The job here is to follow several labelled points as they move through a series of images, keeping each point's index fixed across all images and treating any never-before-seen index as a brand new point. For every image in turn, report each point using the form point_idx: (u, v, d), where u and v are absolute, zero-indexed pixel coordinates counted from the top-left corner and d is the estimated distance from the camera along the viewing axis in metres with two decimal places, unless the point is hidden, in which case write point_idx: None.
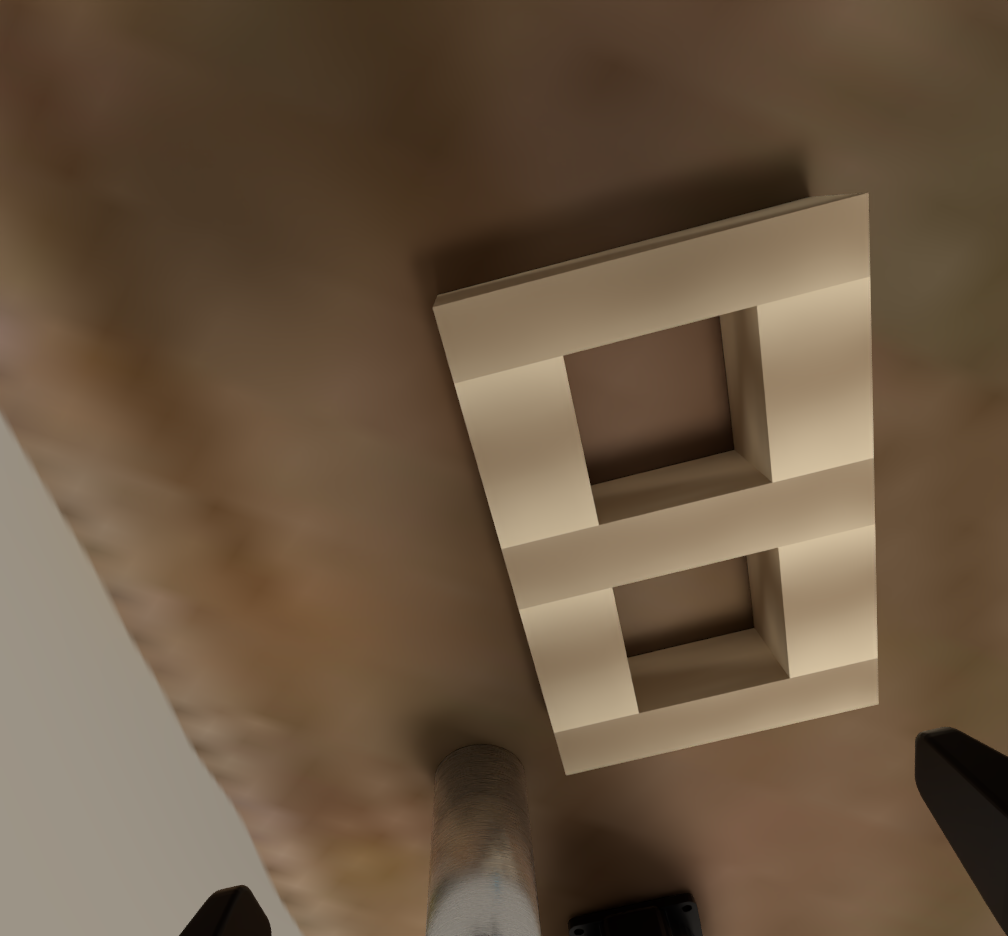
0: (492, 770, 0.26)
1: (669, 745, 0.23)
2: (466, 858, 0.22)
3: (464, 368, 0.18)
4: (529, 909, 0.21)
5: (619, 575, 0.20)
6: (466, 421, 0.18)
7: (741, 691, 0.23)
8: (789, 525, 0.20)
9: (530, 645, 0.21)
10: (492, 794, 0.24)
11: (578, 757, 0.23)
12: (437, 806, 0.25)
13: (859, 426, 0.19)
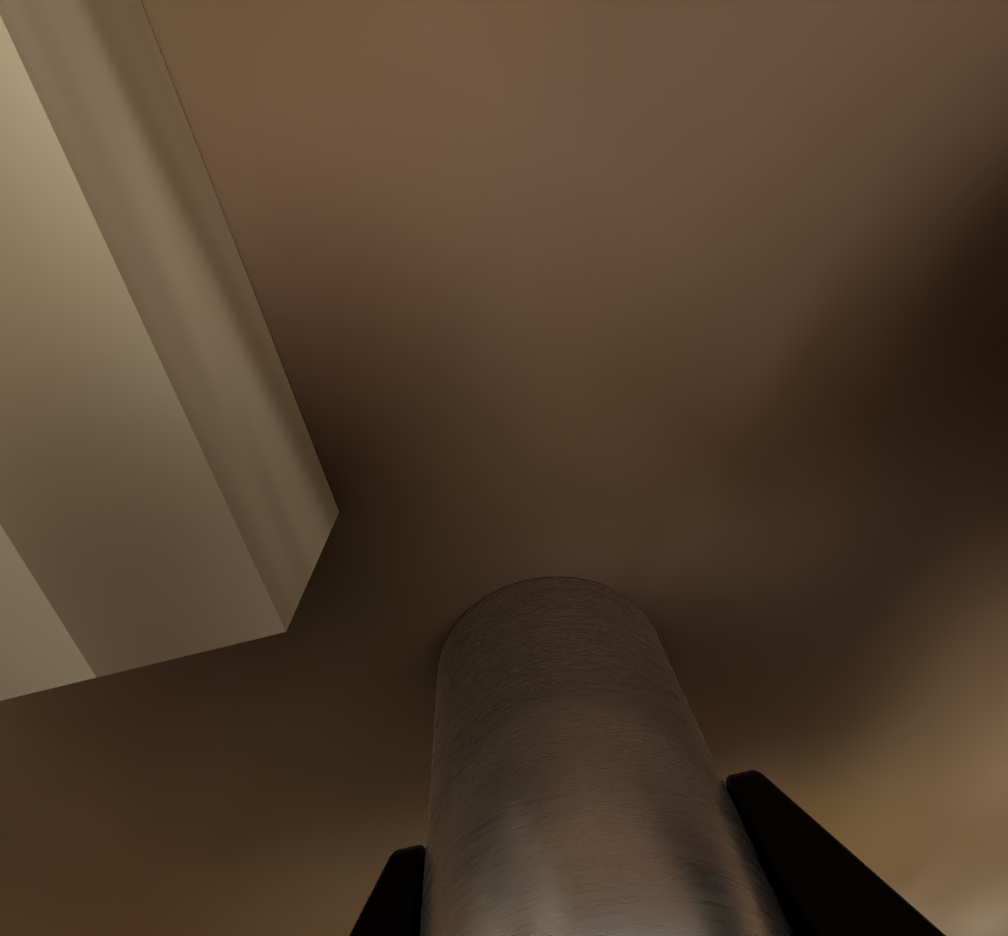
0: (437, 710, 0.09)
1: (74, 261, 0.05)
2: None
3: None
4: None
5: None
6: None
7: None
8: None
9: None
10: (431, 775, 0.08)
11: (195, 601, 0.07)
12: None
13: None
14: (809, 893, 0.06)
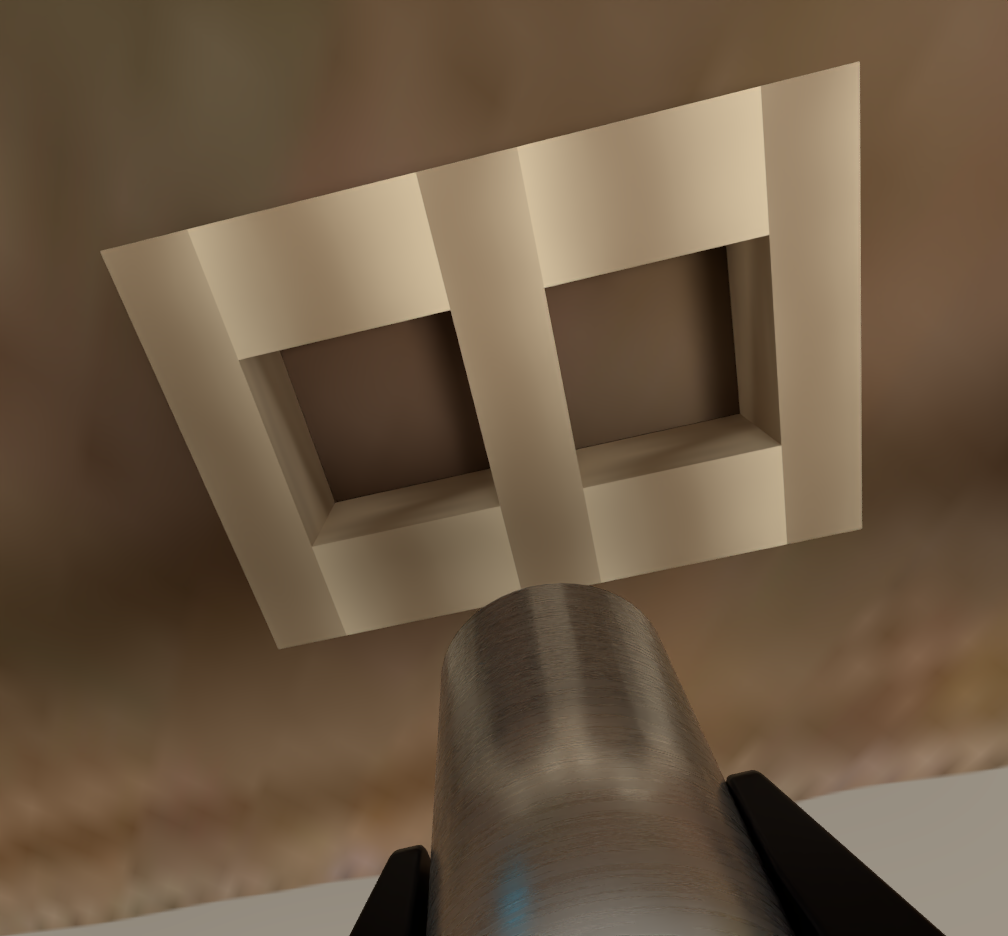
0: (441, 716, 0.09)
1: (849, 401, 0.17)
2: None
3: (331, 626, 0.19)
4: None
5: (567, 480, 0.17)
6: (382, 627, 0.19)
7: (776, 307, 0.16)
8: (512, 277, 0.15)
9: (650, 571, 0.19)
10: (436, 782, 0.08)
11: (835, 515, 0.18)
12: None
13: (372, 204, 0.15)
14: (809, 893, 0.06)
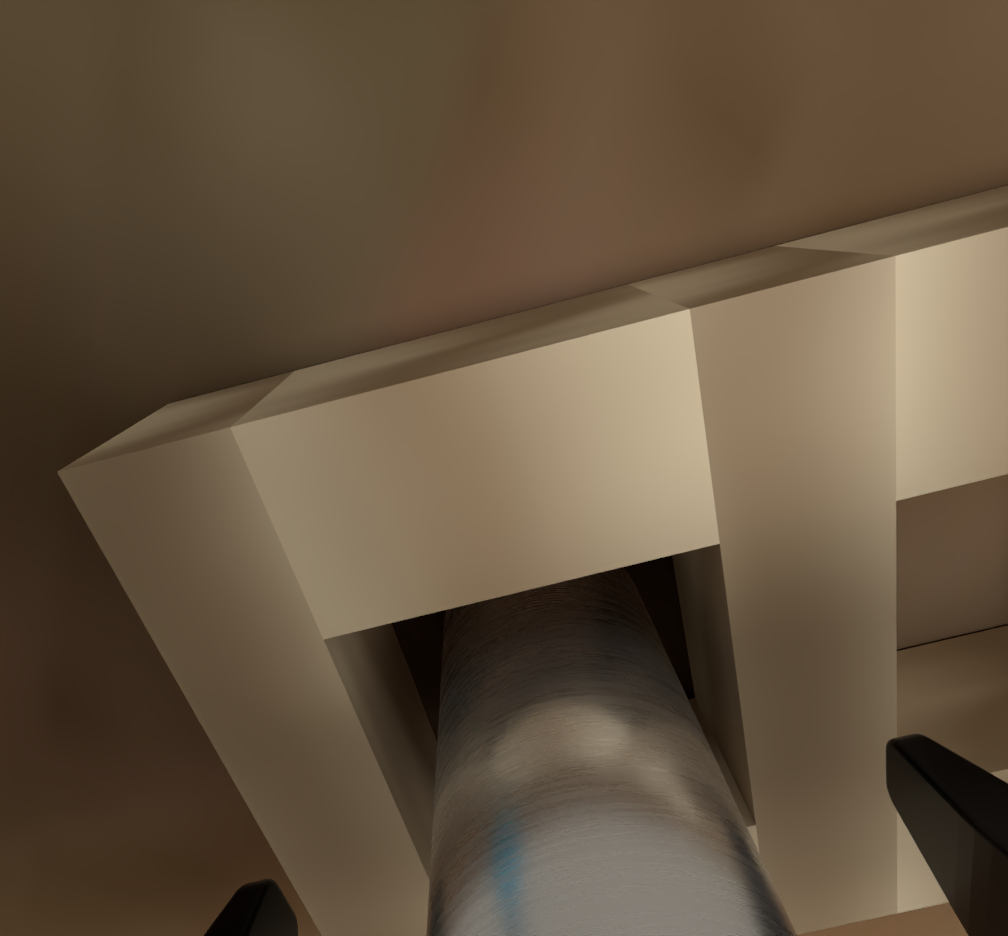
0: (444, 651, 0.11)
1: None
2: None
3: None
4: (498, 919, 0.06)
5: (872, 784, 0.10)
6: None
7: None
8: (842, 486, 0.08)
9: None
10: (440, 701, 0.10)
11: None
12: None
13: (597, 369, 0.07)
14: None
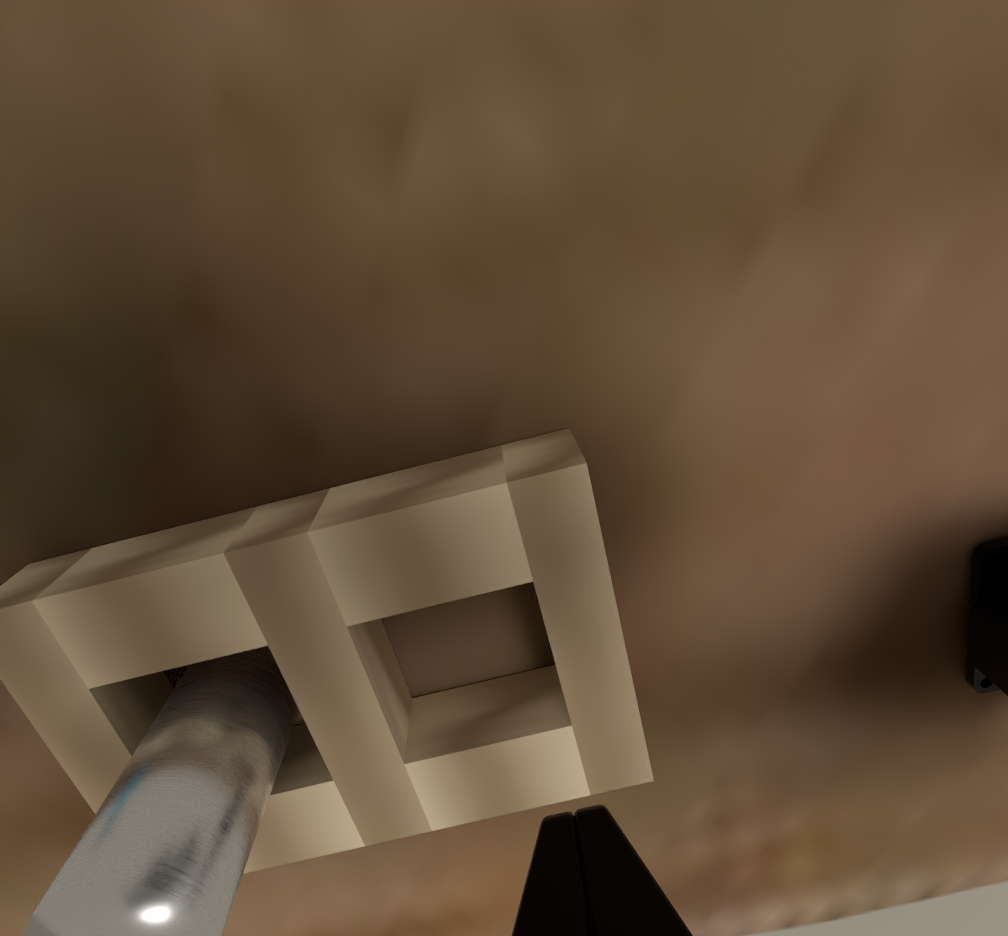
0: None
1: (624, 692, 0.19)
2: None
3: None
4: (107, 801, 0.15)
5: (389, 759, 0.20)
6: None
7: (548, 630, 0.18)
8: (318, 620, 0.18)
9: (474, 820, 0.21)
10: None
11: (628, 772, 0.21)
12: None
13: (189, 576, 0.17)
14: (611, 935, 0.06)
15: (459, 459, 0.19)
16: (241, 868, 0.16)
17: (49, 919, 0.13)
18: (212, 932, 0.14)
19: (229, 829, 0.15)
